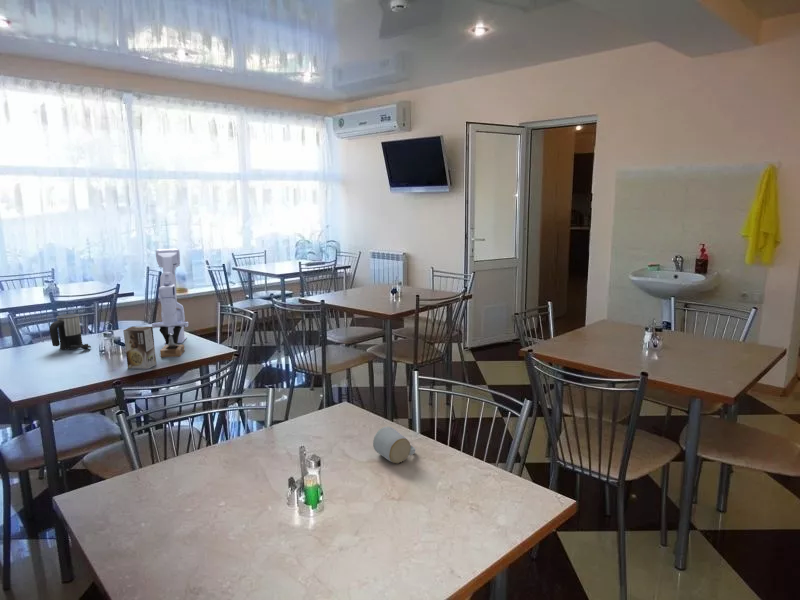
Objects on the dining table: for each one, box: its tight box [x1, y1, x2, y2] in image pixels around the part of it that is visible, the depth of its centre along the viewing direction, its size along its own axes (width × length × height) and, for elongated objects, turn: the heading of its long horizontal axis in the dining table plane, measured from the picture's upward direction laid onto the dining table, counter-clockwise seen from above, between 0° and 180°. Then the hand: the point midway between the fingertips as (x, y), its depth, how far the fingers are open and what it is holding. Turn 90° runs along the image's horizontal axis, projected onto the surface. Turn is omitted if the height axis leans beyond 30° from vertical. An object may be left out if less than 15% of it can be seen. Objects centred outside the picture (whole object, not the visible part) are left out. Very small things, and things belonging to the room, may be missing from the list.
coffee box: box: [122, 325, 157, 370], centre depth 215 cm, size 9×6×16 cm
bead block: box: [159, 344, 186, 358], centre depth 233 cm, size 8×8×3 cm
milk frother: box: [49, 313, 92, 351], centre depth 240 cm, size 14×16×15 cm
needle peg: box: [167, 333, 177, 349], centre depth 232 cm, size 3×3×8 cm
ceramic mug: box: [372, 425, 417, 464], centre depth 142 cm, size 11×8×8 cm
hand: (171, 343), depth 232 cm, fingers closed on needle peg, 3 cm apart
